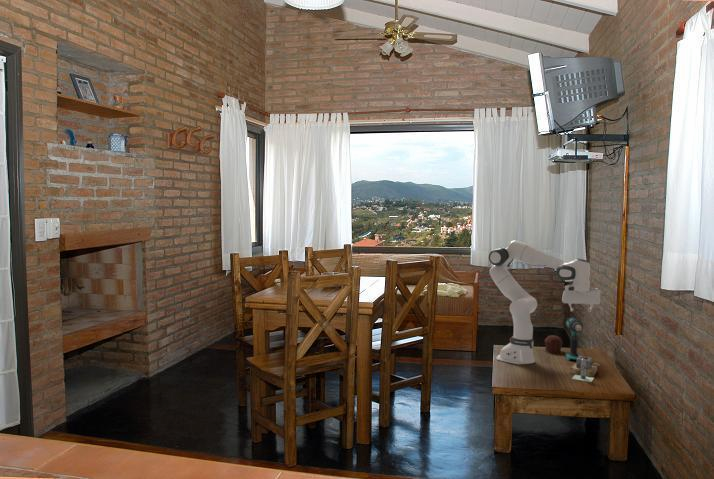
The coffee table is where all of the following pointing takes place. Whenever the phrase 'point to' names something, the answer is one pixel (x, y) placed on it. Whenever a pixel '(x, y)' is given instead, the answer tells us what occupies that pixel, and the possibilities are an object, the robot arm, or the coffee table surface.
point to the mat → (588, 379)
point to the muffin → (553, 344)
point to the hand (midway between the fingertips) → (580, 311)
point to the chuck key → (583, 368)
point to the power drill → (573, 337)
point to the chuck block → (590, 368)
